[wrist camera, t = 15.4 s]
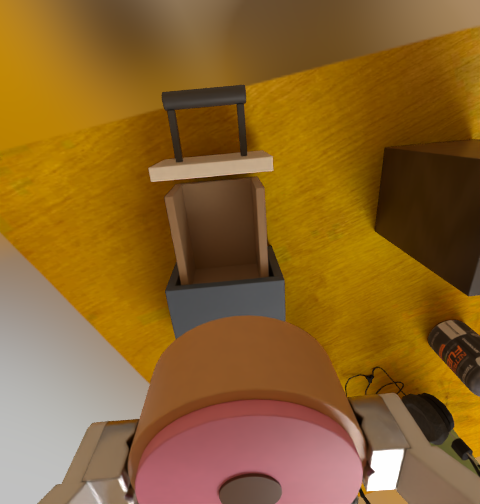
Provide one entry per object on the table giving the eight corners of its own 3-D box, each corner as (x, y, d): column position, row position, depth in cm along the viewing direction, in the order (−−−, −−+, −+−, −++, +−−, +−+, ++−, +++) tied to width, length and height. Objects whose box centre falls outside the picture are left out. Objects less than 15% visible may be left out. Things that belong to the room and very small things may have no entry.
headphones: (320, 415, 49) (376, 585, 31) (313, 368, 44) (373, 536, 26) (407, 398, 48) (517, 563, 30) (408, 349, 44) (539, 509, 25)
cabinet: (178, 254, 35) (164, 291, 27) (271, 245, 36) (284, 279, 28) (195, 344, 42) (188, 396, 33) (275, 337, 42) (286, 387, 34)
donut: (132, 325, 9) (85, 424, 6) (337, 305, 9) (393, 394, 6) (170, 452, 11) (151, 565, 8) (329, 437, 11) (364, 543, 8)
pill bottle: (428, 321, 42) (495, 385, 31) (468, 315, 41) (549, 377, 31) (424, 352, 44) (484, 420, 34) (462, 346, 44) (534, 413, 34)
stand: (384, 147, 31) (507, 162, 18) (473, 139, 31) (664, 147, 18) (374, 231, 35) (467, 296, 22) (452, 224, 35) (595, 284, 22)
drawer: (153, 99, 28) (131, 90, 21) (260, 89, 28) (270, 77, 21) (185, 271, 35) (176, 302, 29) (268, 263, 36) (277, 293, 29)
